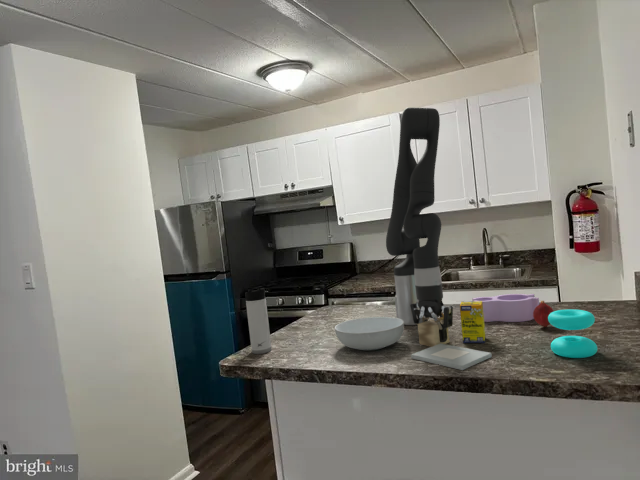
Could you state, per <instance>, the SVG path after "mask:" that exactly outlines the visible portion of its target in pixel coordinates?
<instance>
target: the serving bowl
mask: <svg viewBox="0 0 640 480" xmlns="http://www.w3.org/2000/svg"><path fill="white" fill-rule="evenodd" d="M404 328H405V325H404V321H403V320H402V319H399V318H397V317H393V316H369V317H368V316H367V317H360V318H355V319H349V320H348V319H347V320H346V321H341V322H340V323H338V324H336V325H335V326H334V332H335V333H334V334H335V335H336V338H337V340H338V341H339V342H340V343H341V344H342V345H344V346H346V347H347V348H350V349H354V350H360V351H375V350H376V351H377V350H380V349H381V350H382V349H384V348H385V347H389V346H392V345H393V344H395V343H396V342H398V340H400V339H401V338H402V335H403V334H404Z"/></svg>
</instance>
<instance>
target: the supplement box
mask: <svg viewBox="0 0 640 480" xmlns="http://www.w3.org/2000/svg"><path fill="white" fill-rule="evenodd" d="M459 311H460V314H459V315H460V325H461V335H462V343H463V344H486V326H485V325H486V323H485V322H484V313H483V303H482V301H461V303H460V304H459Z"/></svg>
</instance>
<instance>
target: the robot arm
mask: <svg viewBox="0 0 640 480" xmlns="http://www.w3.org/2000/svg"><path fill="white" fill-rule="evenodd" d="M440 121H441V119H440V112H439V110H438V109H436V108H433V107H406V108H405V109H404V110H403V111H402V114H401V118H400V127H399V129H400V130H399V146H398V147H399V148H398V157H397V165H396V172H395V178H394V179H395V180H394V186H393V187H394V188H393V197H392V206H391V214H390V219H389V223H388V228H387V232H386V238H385V239H386V240H385V246H386V247H385V248H386V251H387V253H388V254H389V255H390V256H392V257H394V256H395V257H397V256H405V255H406V257H405V259H404V260H403V261H401V263H398V264H397V265H395V266H394V268H393V277H394V284H395V296H394V305H395V314H396V318H399V319H402V320H403V321H404V326H415V325H417V326H418V324H419V323H423V322H425V321H428V320H430V318H431V319H432V320H434V321H435V322H436V323H437V325H438V327H439V337H440V342H445V341H446V340H447V328H448V329H449V328H450V327H452V326H453V317H454V313H453V312H454V307H453V305H445V304H444V302H443V298H444V292H443V291H444V290H443V281H442V274H441V269H440V264H439V263H440V262H439V242H440V237H441V236H440V235H441V231H442V220H441V218H440V216H439V215H438V214H436V213H434V212H428V213H422V210H425V209H427V208H429V207H431V206H433V205H434V203H435V173H436V172H435V171H436V162H437V154H438V148H439V147H438V145H439V136H440V135H439V134H440V124H441V123H440ZM412 140H425V141H426V147H425V150H424V153H423V154H422V156H421V158H420V159H419V161H418V162H417V160H416V158H415V156H414V153H413V151H412V147H411V141H412ZM420 239H422V240H423V239H427V240H426V243H425V245H422V246H421V242H420ZM442 324H443V325H442Z"/></svg>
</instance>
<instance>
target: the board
mask: <svg viewBox="0 0 640 480" xmlns="http://www.w3.org/2000/svg"><path fill="white" fill-rule="evenodd" d="M492 356H493V355H492V352H490V351H489V352H488V351H483V350H477V349H472V348H467V347H460V346H457V345H451V344H447V343H446V344H441V343H440V344H438V345H435V346H432V347H431V346H429V347H427V348H425V349H422V350H419V351H417V352H413V353H411V355H410V357H411V359H413V360H416V361H417V360H418V361H422V362H425V363H430V364H435V365H438V364H439V366H444V367H447V368H452V369H456V370H460V371H463V370H466V369H468V368H470V367H472V366H475V365H477V364H478V363H481V362H484V361H485V360H486V361H487V360H488V359H491V358H492Z"/></svg>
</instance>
